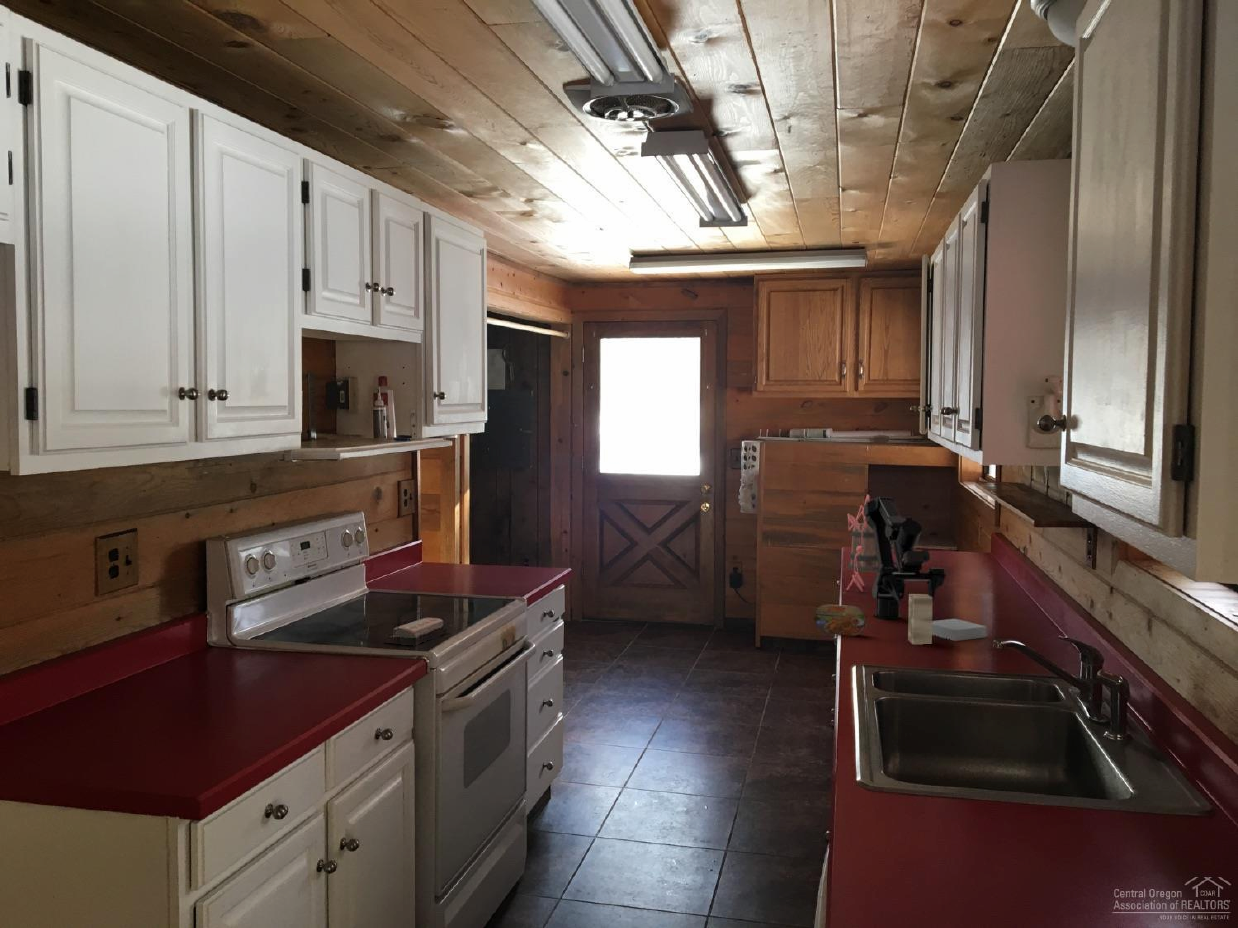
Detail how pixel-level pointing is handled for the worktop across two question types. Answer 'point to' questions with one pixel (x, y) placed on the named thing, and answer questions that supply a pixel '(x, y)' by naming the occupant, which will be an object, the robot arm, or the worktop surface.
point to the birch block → (920, 619)
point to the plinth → (957, 629)
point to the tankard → (869, 555)
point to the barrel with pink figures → (860, 548)
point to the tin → (840, 620)
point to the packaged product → (417, 628)
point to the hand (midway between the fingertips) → (916, 601)
